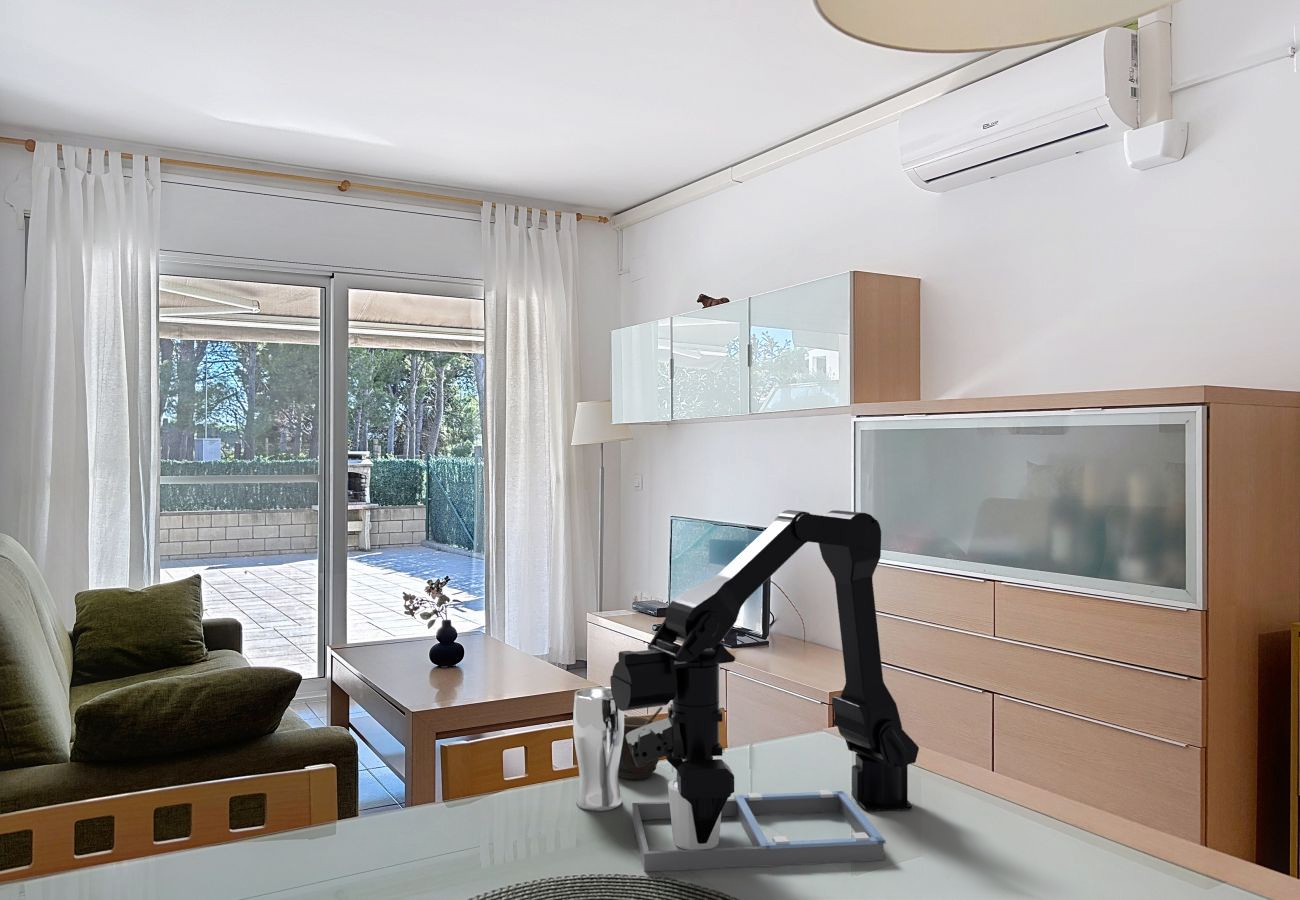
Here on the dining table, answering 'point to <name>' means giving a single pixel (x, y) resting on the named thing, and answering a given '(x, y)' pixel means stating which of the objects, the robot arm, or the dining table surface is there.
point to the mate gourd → (627, 762)
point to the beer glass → (598, 748)
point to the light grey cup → (687, 822)
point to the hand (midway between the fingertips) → (696, 827)
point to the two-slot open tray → (764, 853)
